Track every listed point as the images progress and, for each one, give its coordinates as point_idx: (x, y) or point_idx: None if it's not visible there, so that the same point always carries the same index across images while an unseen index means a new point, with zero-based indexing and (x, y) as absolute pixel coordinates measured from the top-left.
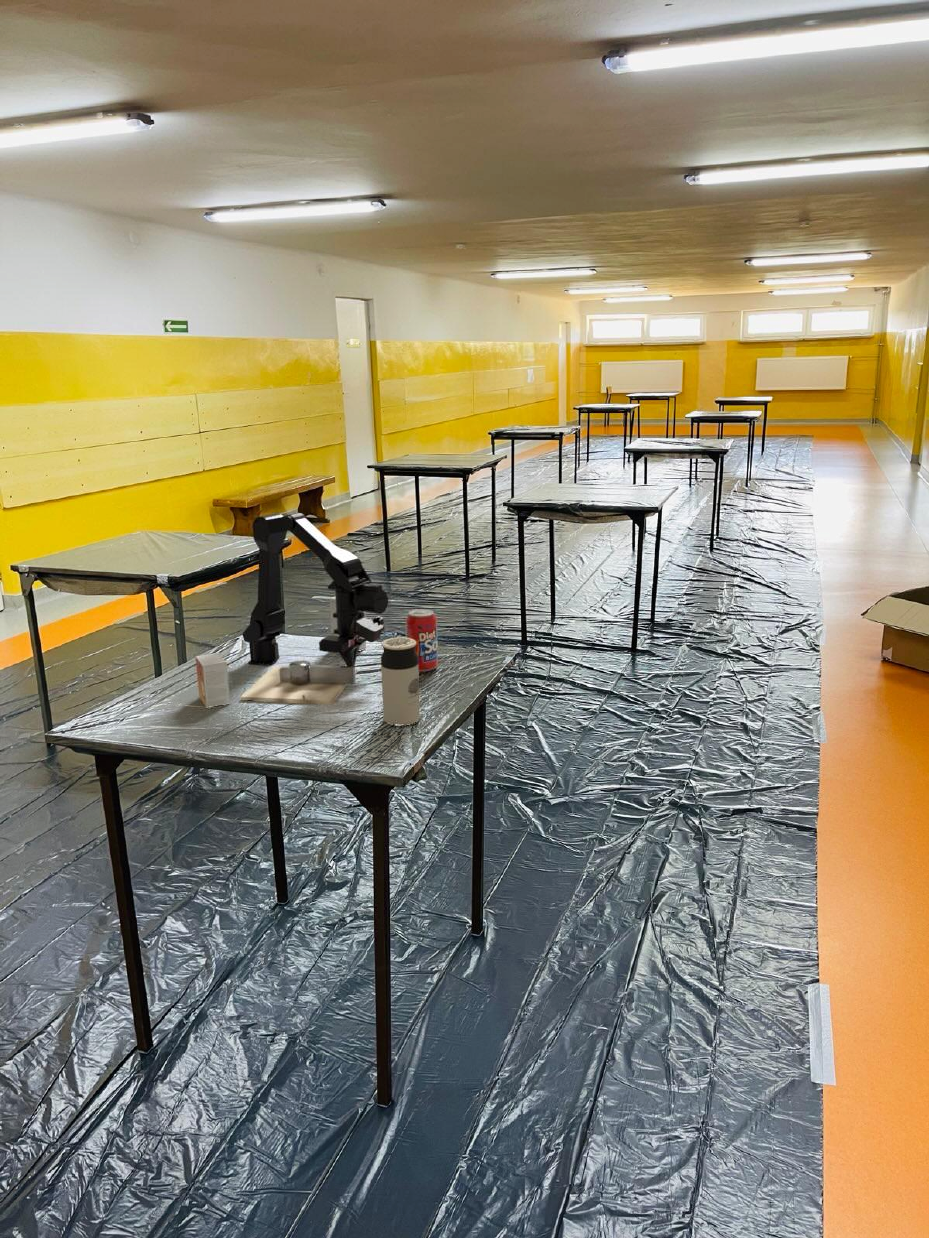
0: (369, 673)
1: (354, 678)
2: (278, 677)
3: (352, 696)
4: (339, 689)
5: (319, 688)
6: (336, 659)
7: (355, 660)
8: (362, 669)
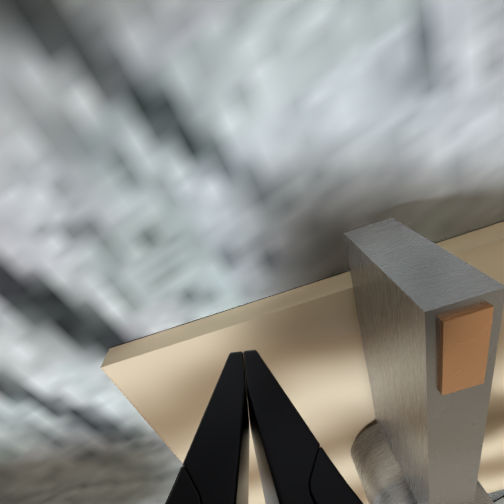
0: (69, 285)
1: (390, 239)
2: (361, 500)
3: (495, 141)
4: (471, 254)
5: None
6: (36, 491)
7: (216, 408)
8: (46, 352)
